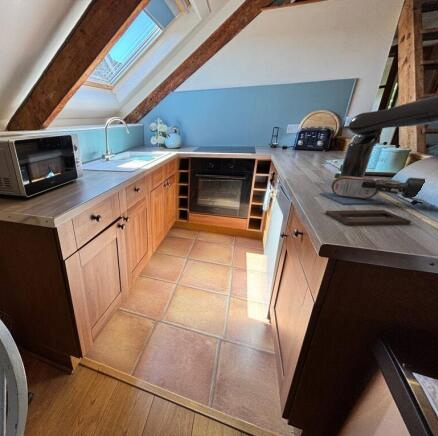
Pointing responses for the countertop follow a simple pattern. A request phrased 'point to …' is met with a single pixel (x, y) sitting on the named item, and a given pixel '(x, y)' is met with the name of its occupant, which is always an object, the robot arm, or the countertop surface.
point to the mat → (351, 199)
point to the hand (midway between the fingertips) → (362, 183)
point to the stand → (390, 219)
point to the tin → (353, 187)
